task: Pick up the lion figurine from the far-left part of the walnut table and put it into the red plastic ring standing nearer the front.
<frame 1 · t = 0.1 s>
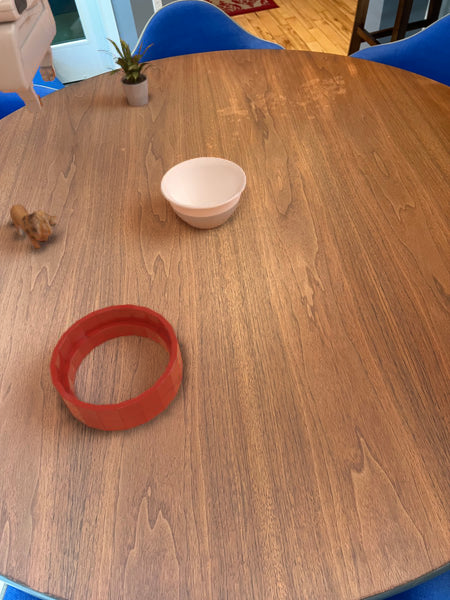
hand: (43, 94, 68), 30 cm above the table, tool pointing down, fingers open, 8 cm apart
red plastic ring: (124, 377, 71), on the table
bowl: (207, 217, 95), on the table
house plant: (134, 102, 129), on the table
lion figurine: (39, 240, 94), on the table
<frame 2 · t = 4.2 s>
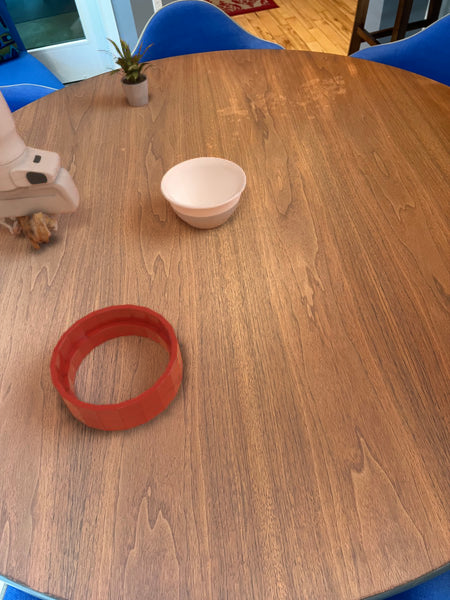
hand: (35, 230, 92), 2 cm above the table, tool pointing down, fingers closed on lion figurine, 6 cm apart
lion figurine: (42, 241, 93), on the table, touching gripper
everything else where it was.
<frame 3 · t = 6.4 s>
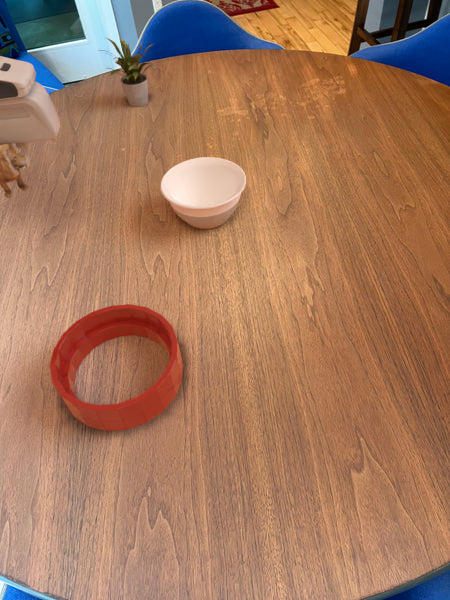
hand: (8, 166, 76), 19 cm above the table, tool pointing down, fingers closed on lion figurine, 4 cm apart
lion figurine: (18, 182, 78), point 17 cm above the table, touching gripper
everything else where it was.
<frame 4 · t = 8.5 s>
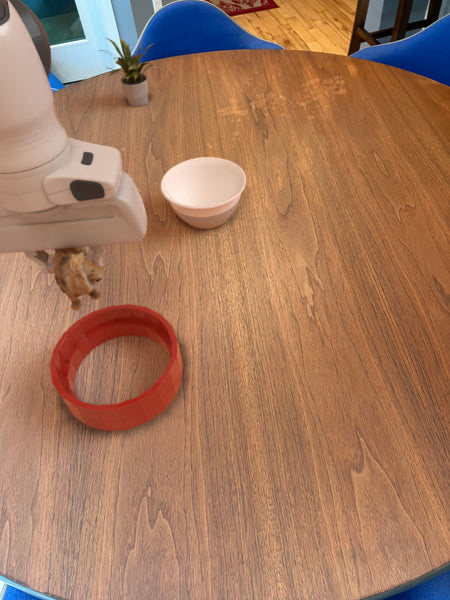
hand: (75, 268, 59), 19 cm above the table, tool pointing down, fingers closed on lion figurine, 4 cm apart
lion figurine: (86, 286, 61), point 17 cm above the table, touching gripper
everything else where it was.
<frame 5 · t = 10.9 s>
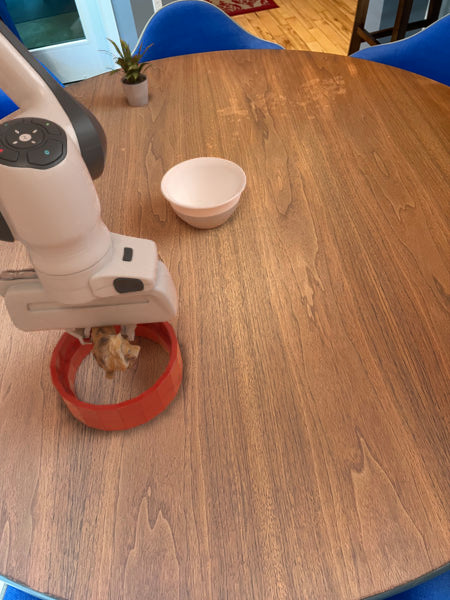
hand: (108, 338, 64), 10 cm above the table, tool pointing down, fingers closed on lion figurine, 4 cm apart
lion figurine: (118, 354, 66), point 7 cm above the table, touching gripper
everything else where it was.
when the fingers open (3 cm above the table, at t = 13.0 s): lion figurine stays where it is, resting on red plastic ring.
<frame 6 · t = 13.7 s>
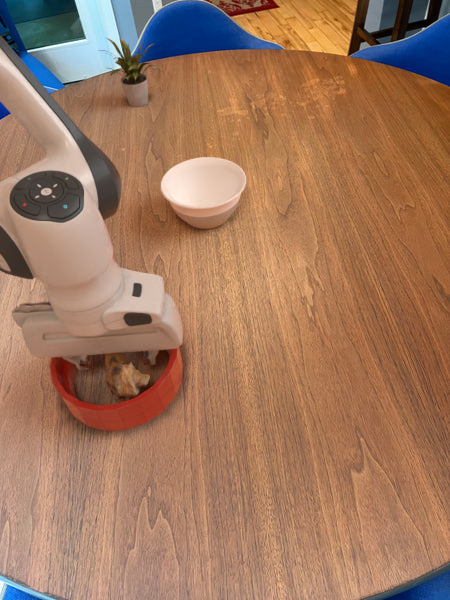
hand: (117, 363, 68), 4 cm above the table, tool pointing down, fingers open, 8 cm apart
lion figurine: (128, 379, 70), resting on red plastic ring
everything else where it was.
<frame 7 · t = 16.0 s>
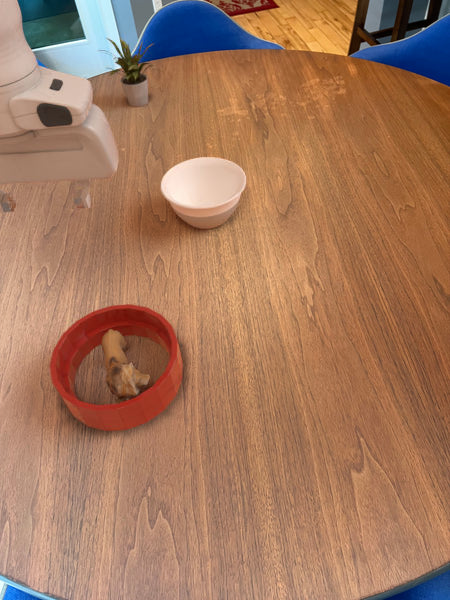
hand: (46, 207, 59), 24 cm above the table, tool pointing down, fingers open, 8 cm apart
nothing on the table moved.
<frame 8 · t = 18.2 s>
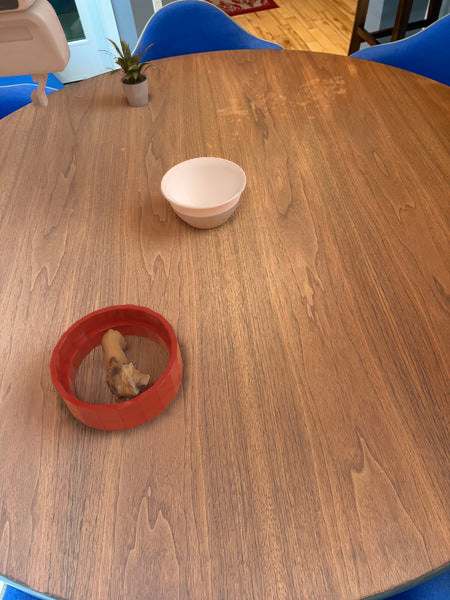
hand: (6, 108, 63), 31 cm above the table, tool pointing down, fingers open, 8 cm apart
nothing on the table moved.
at the end: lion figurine inside the target area in the red plastic ring (1.0 cm from its centre), point 0.4 cm above the red plastic ring's base; the gripper is holding nothing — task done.
